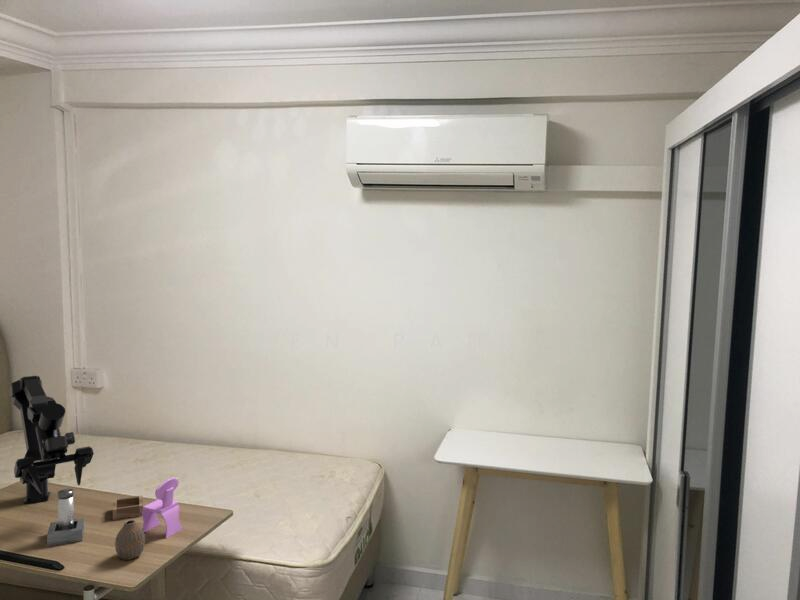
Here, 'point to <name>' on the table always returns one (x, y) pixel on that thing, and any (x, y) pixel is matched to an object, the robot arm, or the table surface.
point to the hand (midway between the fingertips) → (60, 488)
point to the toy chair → (163, 508)
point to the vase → (130, 541)
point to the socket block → (65, 533)
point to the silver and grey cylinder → (65, 509)
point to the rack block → (127, 507)
